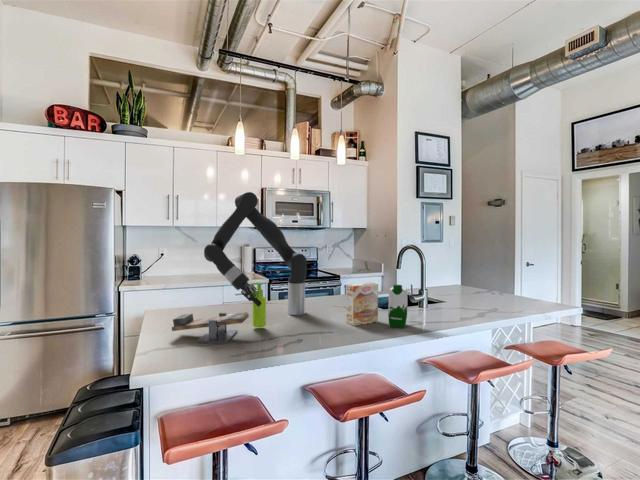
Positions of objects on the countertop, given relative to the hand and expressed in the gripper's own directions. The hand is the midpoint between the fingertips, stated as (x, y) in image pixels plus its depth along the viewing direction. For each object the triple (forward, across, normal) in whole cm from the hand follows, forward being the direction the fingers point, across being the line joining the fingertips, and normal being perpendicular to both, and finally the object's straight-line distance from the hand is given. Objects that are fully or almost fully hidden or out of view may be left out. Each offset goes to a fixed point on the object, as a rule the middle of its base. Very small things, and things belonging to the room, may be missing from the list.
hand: (261, 303), depth 161 cm
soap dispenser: (+6, 0, +9) cm, 11 cm away
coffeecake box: (+42, +15, -25) cm, 51 cm away
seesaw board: (-9, -14, +17) cm, 24 cm away
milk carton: (+54, +11, -37) cm, 66 cm away
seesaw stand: (-3, -14, +19) cm, 24 cm away
